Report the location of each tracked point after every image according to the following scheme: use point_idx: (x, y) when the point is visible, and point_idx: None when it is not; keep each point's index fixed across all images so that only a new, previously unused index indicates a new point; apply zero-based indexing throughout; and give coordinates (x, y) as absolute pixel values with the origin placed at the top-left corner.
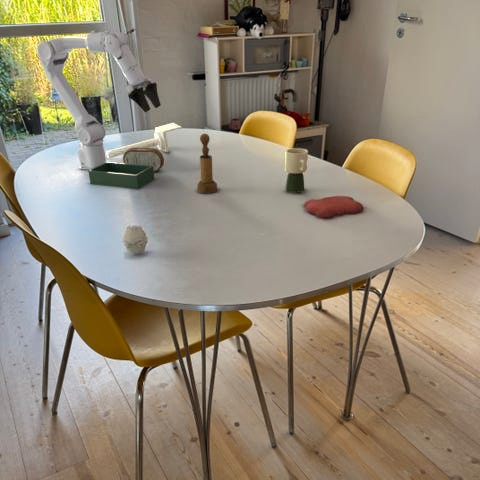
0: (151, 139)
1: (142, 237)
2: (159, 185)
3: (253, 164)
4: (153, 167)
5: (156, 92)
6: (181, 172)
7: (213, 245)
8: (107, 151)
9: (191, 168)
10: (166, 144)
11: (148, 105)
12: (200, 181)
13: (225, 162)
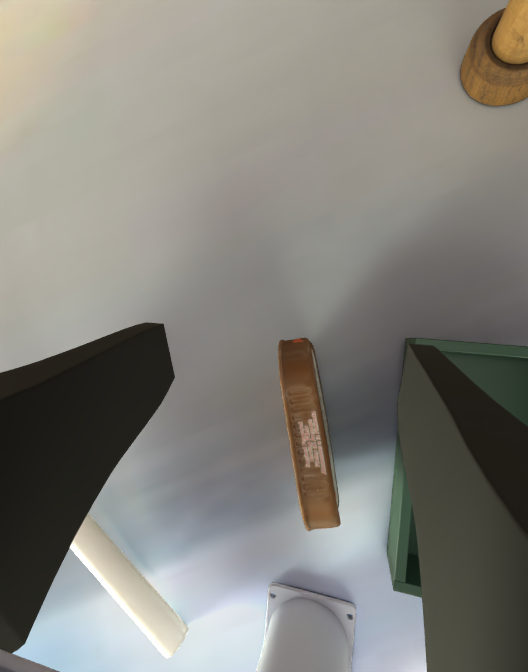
0: None
1: None
2: (484, 284)
3: (148, 56)
4: (316, 378)
5: (14, 378)
6: (294, 269)
7: None
8: (169, 650)
9: (238, 253)
10: None
11: (434, 362)
12: (525, 65)
13: (144, 163)
